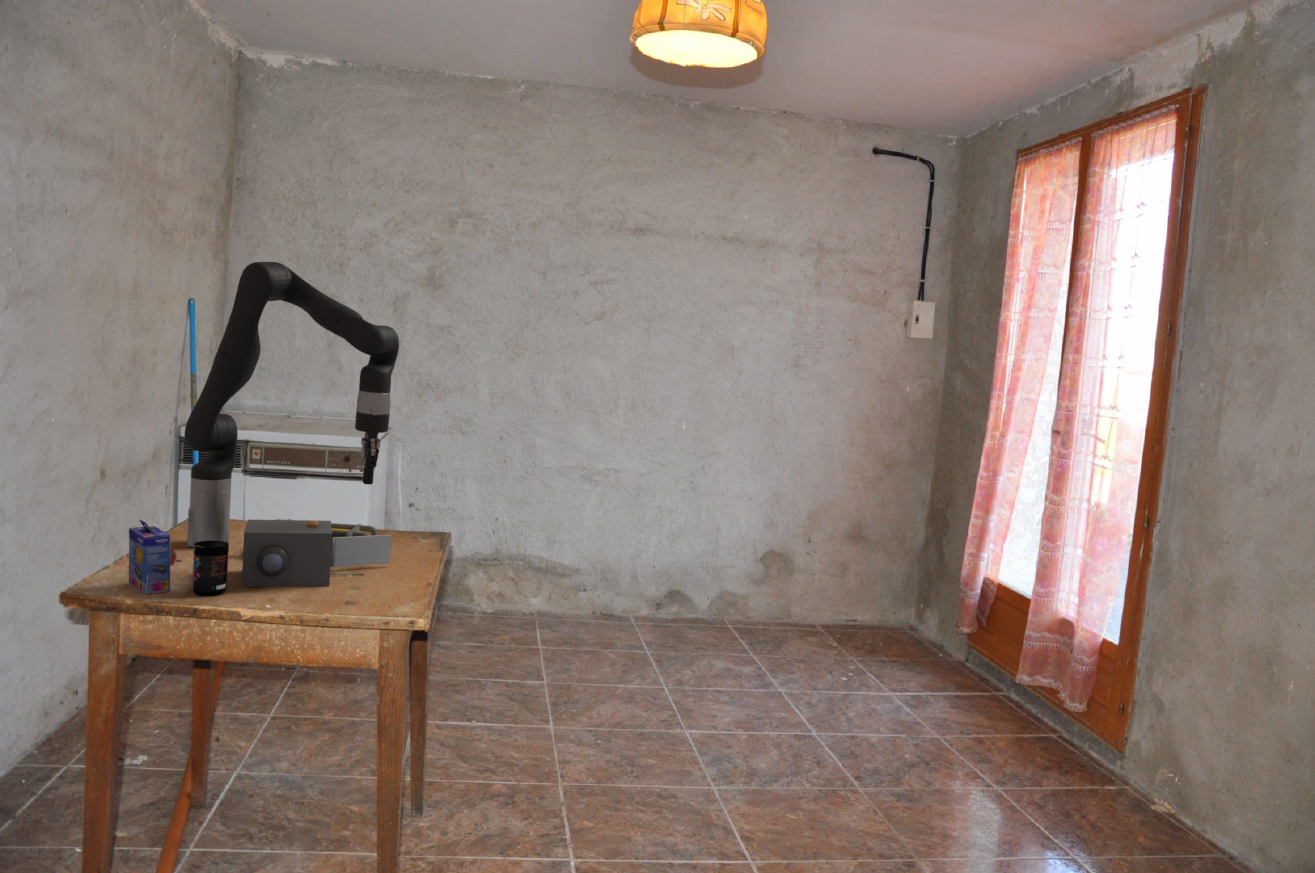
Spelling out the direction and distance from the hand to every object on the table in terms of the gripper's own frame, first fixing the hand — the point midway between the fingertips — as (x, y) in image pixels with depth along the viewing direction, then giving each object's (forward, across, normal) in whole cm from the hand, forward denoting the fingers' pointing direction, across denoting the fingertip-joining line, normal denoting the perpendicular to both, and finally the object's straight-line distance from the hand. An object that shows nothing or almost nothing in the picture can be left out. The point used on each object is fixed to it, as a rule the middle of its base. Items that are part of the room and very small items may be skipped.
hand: (367, 483), depth 222 cm
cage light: (+22, -17, -9) cm, 30 cm away
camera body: (+22, +5, -17) cm, 28 cm away
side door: (+21, -4, 0) cm, 21 cm away
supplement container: (+22, +14, -32) cm, 41 cm away
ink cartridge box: (+22, +10, -44) cm, 50 cm away
